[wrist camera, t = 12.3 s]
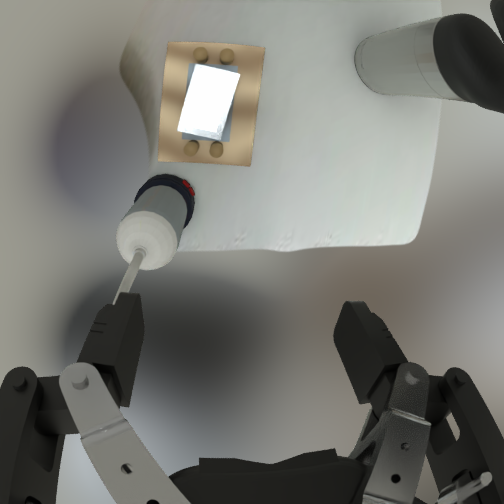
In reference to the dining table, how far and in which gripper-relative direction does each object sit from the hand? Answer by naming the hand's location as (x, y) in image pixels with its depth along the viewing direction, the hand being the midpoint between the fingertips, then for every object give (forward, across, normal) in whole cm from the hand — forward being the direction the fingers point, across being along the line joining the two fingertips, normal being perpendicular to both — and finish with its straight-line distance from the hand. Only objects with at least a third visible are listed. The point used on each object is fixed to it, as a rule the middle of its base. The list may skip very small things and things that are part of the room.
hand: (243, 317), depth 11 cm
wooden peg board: (+30, +3, -8) cm, 31 cm away
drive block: (+29, +3, -8) cm, 30 cm away
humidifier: (+30, +8, +6) cm, 32 cm away
